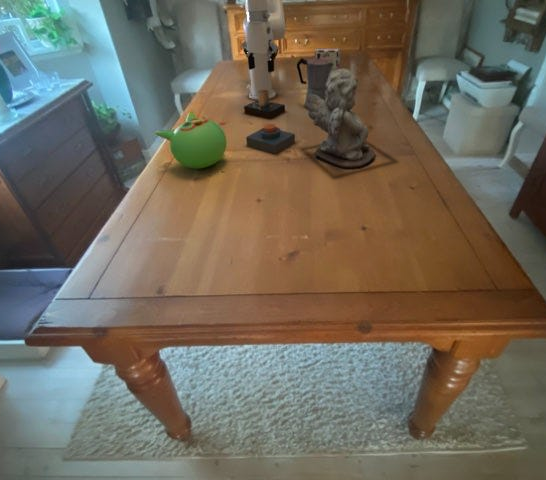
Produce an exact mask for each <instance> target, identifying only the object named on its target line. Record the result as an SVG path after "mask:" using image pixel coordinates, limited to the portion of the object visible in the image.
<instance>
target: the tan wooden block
mask: <svg viewBox="0 0 546 480" xmlns="http://www.w3.org/2000/svg"><path fill="white" fill-rule="evenodd" d="M258 100H259V106H260V107H267V106H269V102H270V99H269V91H268V90H259V91H258Z"/></svg>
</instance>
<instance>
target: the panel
mask: <svg viewBox="0 0 546 480" xmlns="http://www.w3.org/2000/svg"><path fill="white" fill-rule="evenodd" d="M243 110H244V111H243V112H244V114H245V115H249V116H253V117H258V118H262V119H265V120H266V119H267V120H272V119H273V120H274V118H277V117H278V116H280V115H282V114H284V113H286V105H285V104H283V103H278V102H273V101H269V106H267V107H260V106H259V100H255V101H253V102H249V103H248V104H245V105H244V106H243Z"/></svg>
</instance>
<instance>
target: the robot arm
mask: <svg viewBox="0 0 546 480" xmlns="http://www.w3.org/2000/svg"><path fill="white" fill-rule="evenodd" d="M244 8H245V9H244V10H245V12H246V16H245V17H244V19H243V22H242V23H243V25H242V27H243V32H244V36H245V37H244V38H245V41H243V42H242V43H241V47H242V49H243V53H244V54H245V57H246V59H247V63H248V70H249V76H250V77H249V78H250V83H248V84H247V86H246V90H248V91H249V94H248V97H249V98H250V99H251V100H255V101H257V100H258V91H259V90H268V91H269V100H271V99H273V98H275V97H276V95H277V94H276V93H277V92H275V90H273V82H272V81H273V80H272V73H273V72H275V60H276V58H277V56H278V53H279V50H280V47H279V45H277V44H276V43H275V42H274V41H281V40H282V39H284V37H285V36H286V30H287V29H286V28H287V27H286V20H285V18H286V17H285V12H284V2H283V0H244Z"/></svg>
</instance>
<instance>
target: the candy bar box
mask: <svg viewBox="0 0 546 480" xmlns="http://www.w3.org/2000/svg"><path fill="white" fill-rule="evenodd" d="M318 53H319V54H321V56H320V58H322V59H327V60H329V61H331V62H333V63H334V65H333V66H332V68H331V70H330V72H329V74H328V77H329V76H330V74H331V72H333V71H334V70H337V69H341V48H316V49H315V50H314V58H317V54H318ZM328 77H327V80H328ZM325 91H326V85H325Z"/></svg>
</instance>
